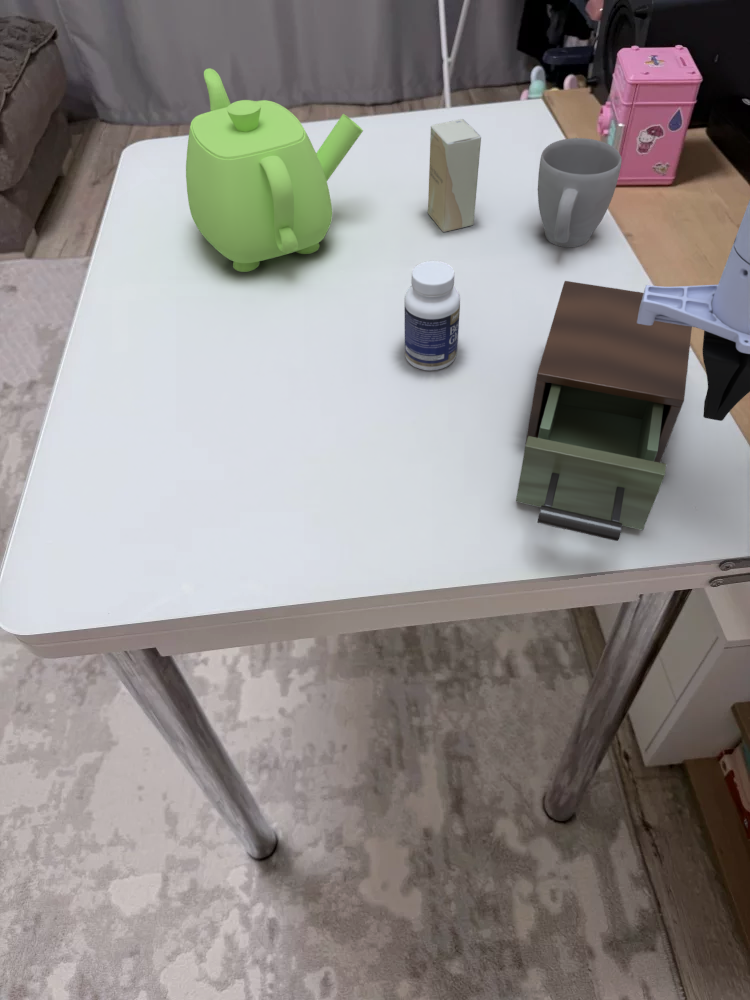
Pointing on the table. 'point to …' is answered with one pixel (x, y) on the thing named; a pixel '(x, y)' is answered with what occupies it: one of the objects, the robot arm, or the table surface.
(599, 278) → the table surface
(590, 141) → the mug
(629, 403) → the drawer
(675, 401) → the cabinet
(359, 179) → the table surface
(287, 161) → the teapot
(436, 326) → the pill bottle
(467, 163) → the box
